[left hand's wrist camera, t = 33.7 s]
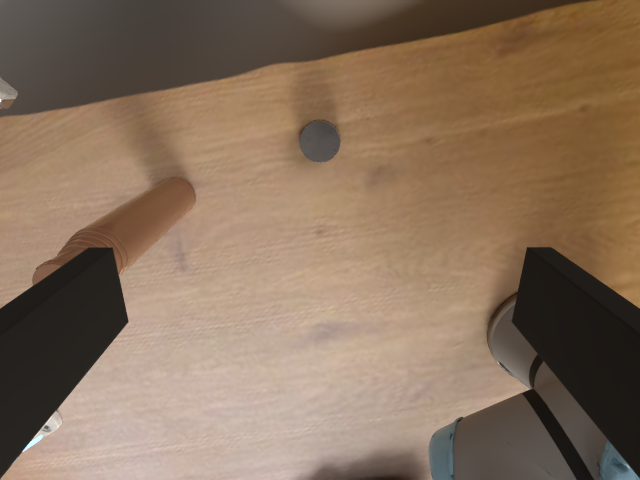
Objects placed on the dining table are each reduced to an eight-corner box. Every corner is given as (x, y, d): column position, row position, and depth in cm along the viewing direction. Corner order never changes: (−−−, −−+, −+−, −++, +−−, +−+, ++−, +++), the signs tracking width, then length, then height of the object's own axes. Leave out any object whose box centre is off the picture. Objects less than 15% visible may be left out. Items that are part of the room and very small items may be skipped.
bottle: (203, 199, 50) (106, 293, 27) (176, 220, 51) (60, 327, 28) (177, 169, 48) (52, 241, 26) (150, 191, 49) (6, 279, 27)
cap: (336, 116, 46) (337, 117, 44) (342, 156, 48) (343, 159, 45) (297, 122, 46) (296, 124, 44) (304, 162, 48) (303, 165, 46)
